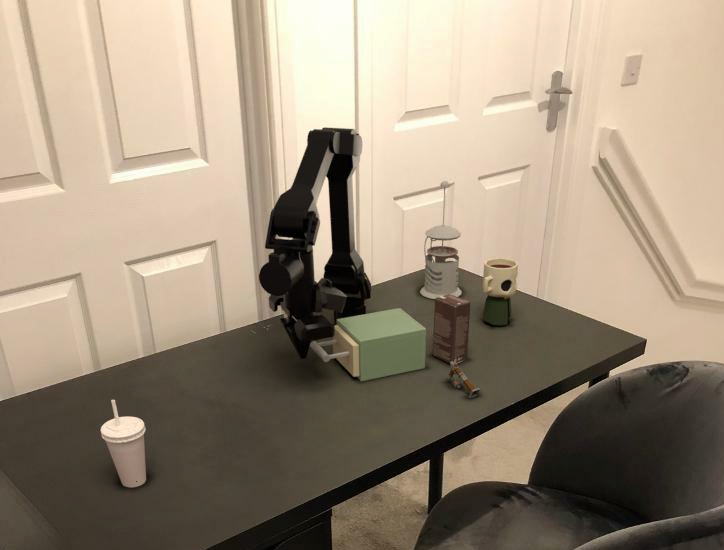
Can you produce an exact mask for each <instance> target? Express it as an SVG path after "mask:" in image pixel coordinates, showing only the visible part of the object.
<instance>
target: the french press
mask: <svg viewBox="0 0 724 550" xmlns="http://www.w3.org/2000/svg"><path fill="white" fill-rule="evenodd" d="M439 185H440V186H439V187H440V188H443V207H442V208H443V213H442V224H439V225H434V226H432V227H430V228H429V229H428V230H427V229H426V231H425V232H424V235H426V237H425V240H424V247H423V249H424V250H423V252H424V262H425V265H424V269H425V270H424V274H425V276H424V286H423V287H422V288H421V289H420V291H419V293H420V294H421V296H423V297H425V298H427V299H432V300H435V298H437V297H440V296H444V295H448V294H451V295H454V296H456V297H460V296H461V295H462V293H463V292H462V290H461V289H460V288H459V267H460V266H459V265H460V257H459V255H458V253H459V250H458V249H457V248H456V247H453V246H449V245H448V246H446V245H444V241H453V240H457V239H459V238H460V237H462V236H461V235H462V232H461V231H459V230H458V229H457V228H456V227H453V226H451V225H445V207H446V206H445V205H446V204H445V203H446V188H449V187H450V183H449V182H448V181H447V180H443V181H441V182H440V184H439ZM428 238H429V239H430V246H429V248H427V249H426V244H427V240H428ZM436 241H441V245H436V246H435V245H434V246H432V244H433V242H436ZM448 259H453V260H448ZM446 260H447V261H446Z"/></svg>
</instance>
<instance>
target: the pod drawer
mask: <svg viewBox="0 0 724 550" xmlns="http://www.w3.org/2000/svg"><path fill="white" fill-rule="evenodd" d="M330 345H332V354H328V353H327V352H326V351H325V349H323V347H324V346H325V347H326V346H330ZM309 348H311V349H312V350H313V351H314V353H315V354H316V355H317V356H318V357H319V358H320V359H321V360H322V361H323V362H324V363H328V362H330V360H332V359H336V360H337V361H338V362H339V364H341V366H343V367H344V369H345V370H346V371H347V372H349V374H350V375H351V376H352V377H353V378H357V377H356V376H359V344H358V343H357V342H356V341H355V340H354V339H353V338H352V337H351V336H350V335H349V334H348V333H347V332H345V331H344V330H342V329H341V328H340V327H339V326H338V325H335V336H334V337H332V339H330V340H327V341H320V342H317V341H316V340H314V341H311V343H310V347H309Z"/></svg>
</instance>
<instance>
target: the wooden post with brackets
mask: <svg viewBox="0 0 724 550" xmlns="http://www.w3.org/2000/svg"><path fill="white" fill-rule="evenodd" d="M449 367H450V368H451V369H450V371H449V373H448V374H447V377H446V380H447V381H448V382H449V381H452V382H451V385H453V386H454V389H456V388H457V389H461V384H462V385H464V386H465V388H466V389H467V391H468V393H469V395H468V397H469V399H471V398H475V397H477V396H478V395H479V394H480V391H481V388H480V387H476V386H474V385H473V384H472V383H471V382H470V381H469V378H468V377H467V376H466V374H464V372H462V370H461V369H460V366H459V363H456V362H453V361H451V362H450V363H449ZM454 375H456V376H457V378H456V379H455V377H454ZM458 380H459V381H460V382H459V381H458Z"/></svg>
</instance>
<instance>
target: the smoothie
mask: <svg viewBox="0 0 724 550" xmlns="http://www.w3.org/2000/svg"><path fill="white" fill-rule="evenodd" d="M110 401H111V407H112V412H113V415H114V417H113V418H112V419H109V420H107V421H106V422H105V423H103V424H102V426H101V427H100V434H101V438H102V439H103V440H104V441H105V443H106V446H107V448H108V451H109V453H110V456H111V460H112V461H113V464H114V467H115V468H116V472H117V475H118V477H119V480H120V483H121V485H122V486H123V487H126V488H137V487H140V486H142V485H144V484H145V483H146V482H147V468H146V449H145V433H146V425H145V422H144V421H143V420H142V419H141V418H139V417H136V416H127V415H126V416H119V413H118V408H117V403H116V400H115V399H110ZM136 481H137V482H136Z"/></svg>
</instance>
